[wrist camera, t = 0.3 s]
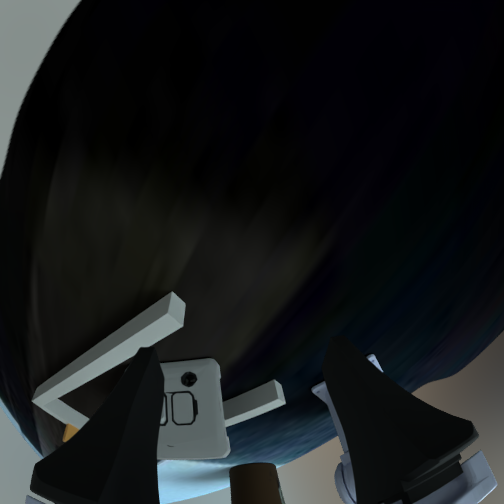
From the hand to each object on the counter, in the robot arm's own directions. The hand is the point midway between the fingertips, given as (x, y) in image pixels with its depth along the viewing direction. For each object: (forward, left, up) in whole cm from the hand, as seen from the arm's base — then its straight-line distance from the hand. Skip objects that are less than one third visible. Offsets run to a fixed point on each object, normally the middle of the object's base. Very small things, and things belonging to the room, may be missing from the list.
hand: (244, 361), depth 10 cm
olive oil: (-41, +26, -9) cm, 50 cm away
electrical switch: (-8, +12, -10) cm, 17 cm away
